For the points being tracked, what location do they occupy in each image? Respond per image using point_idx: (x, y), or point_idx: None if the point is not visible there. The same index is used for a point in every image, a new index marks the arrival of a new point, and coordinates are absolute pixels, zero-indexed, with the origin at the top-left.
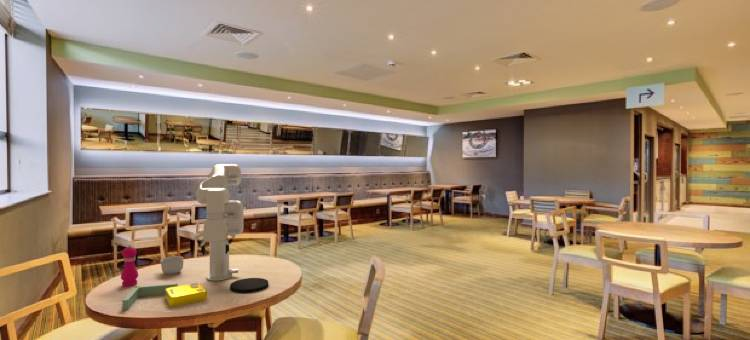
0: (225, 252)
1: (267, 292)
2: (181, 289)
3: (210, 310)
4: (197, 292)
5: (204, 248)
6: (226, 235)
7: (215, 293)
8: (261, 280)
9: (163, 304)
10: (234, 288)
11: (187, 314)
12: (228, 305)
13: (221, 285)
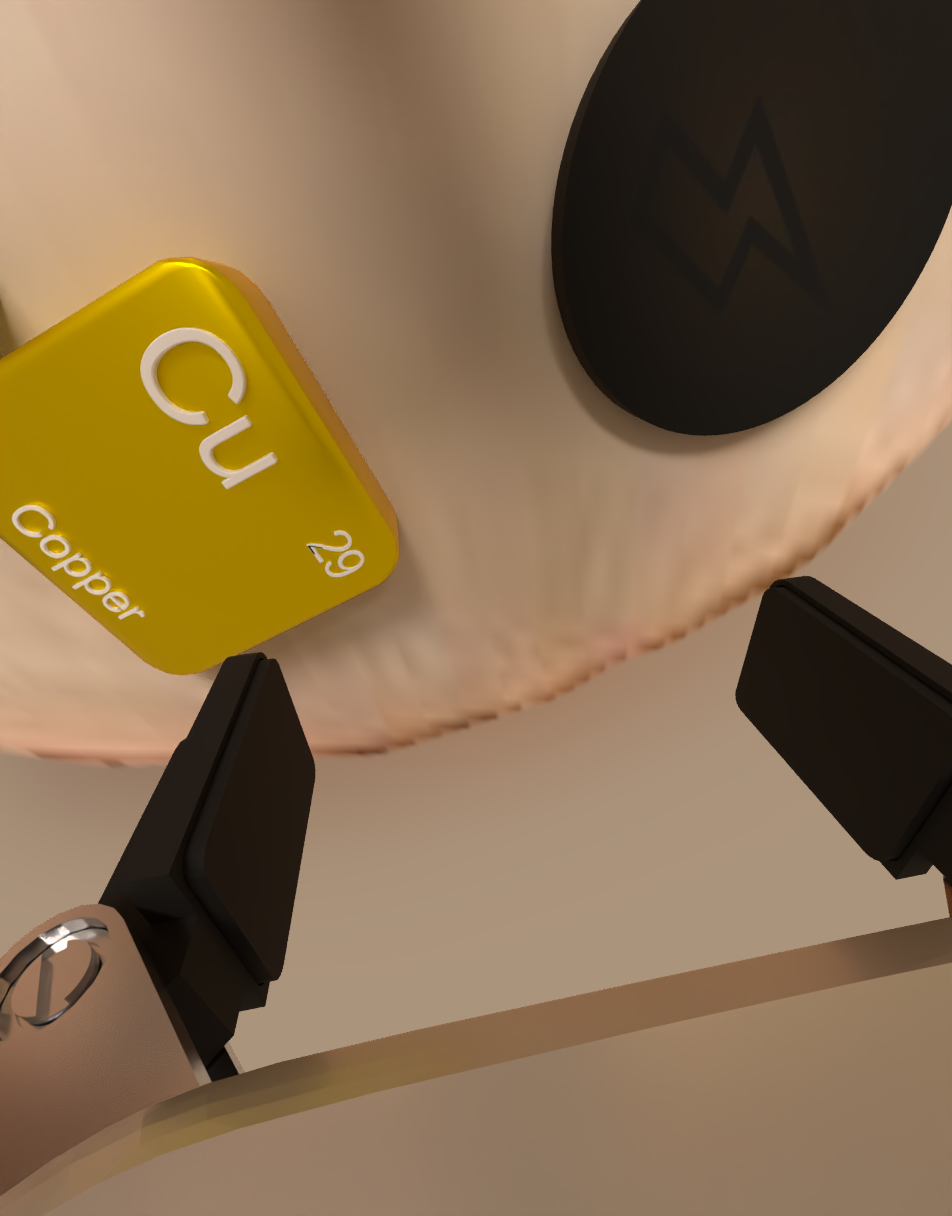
0: (750, 719)
1: (833, 441)
2: (134, 508)
3: (474, 701)
4: (338, 598)
5: (281, 895)
6: None
7: (434, 395)
8: (914, 107)
9: None
10: (607, 384)
11: (366, 738)
12: (563, 646)
13: (437, 63)
